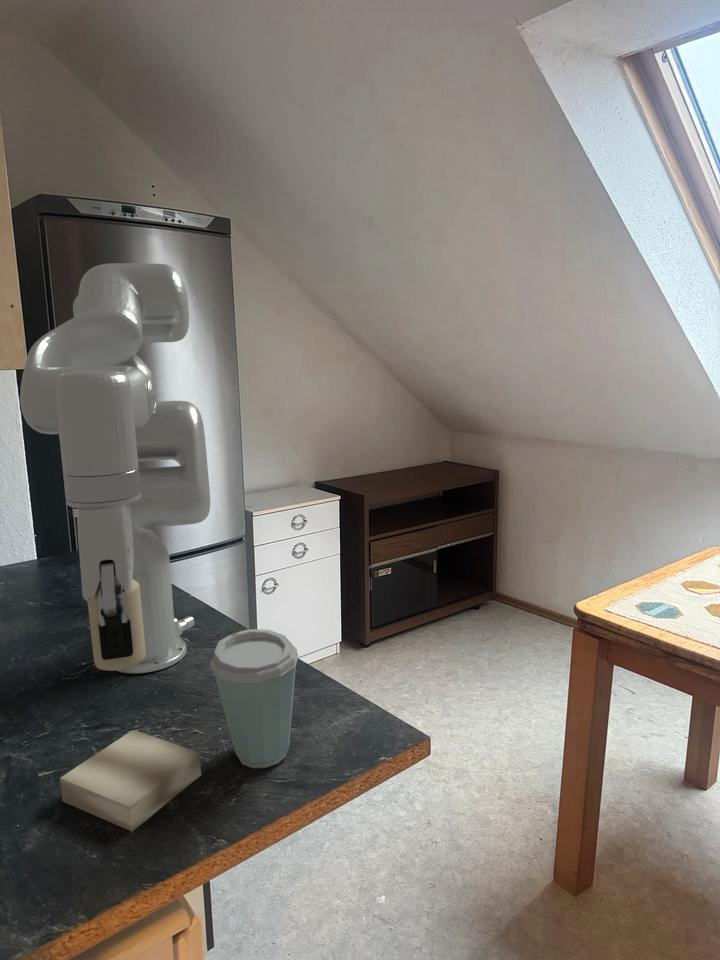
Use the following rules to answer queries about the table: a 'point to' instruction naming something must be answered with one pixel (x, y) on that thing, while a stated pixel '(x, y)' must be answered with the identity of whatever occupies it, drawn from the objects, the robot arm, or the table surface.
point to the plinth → (131, 779)
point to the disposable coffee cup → (257, 693)
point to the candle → (136, 629)
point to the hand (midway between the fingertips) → (119, 643)
